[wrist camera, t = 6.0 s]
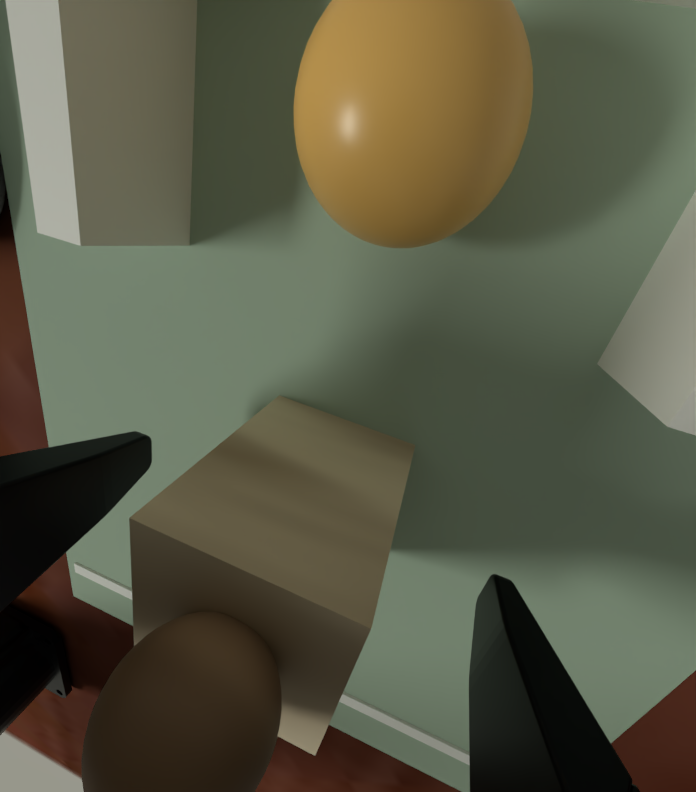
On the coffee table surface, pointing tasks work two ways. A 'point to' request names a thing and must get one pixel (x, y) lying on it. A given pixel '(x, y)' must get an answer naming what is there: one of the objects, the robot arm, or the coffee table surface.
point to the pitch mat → (413, 358)
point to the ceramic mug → (2, 186)
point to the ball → (412, 113)
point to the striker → (248, 603)
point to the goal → (172, 166)
